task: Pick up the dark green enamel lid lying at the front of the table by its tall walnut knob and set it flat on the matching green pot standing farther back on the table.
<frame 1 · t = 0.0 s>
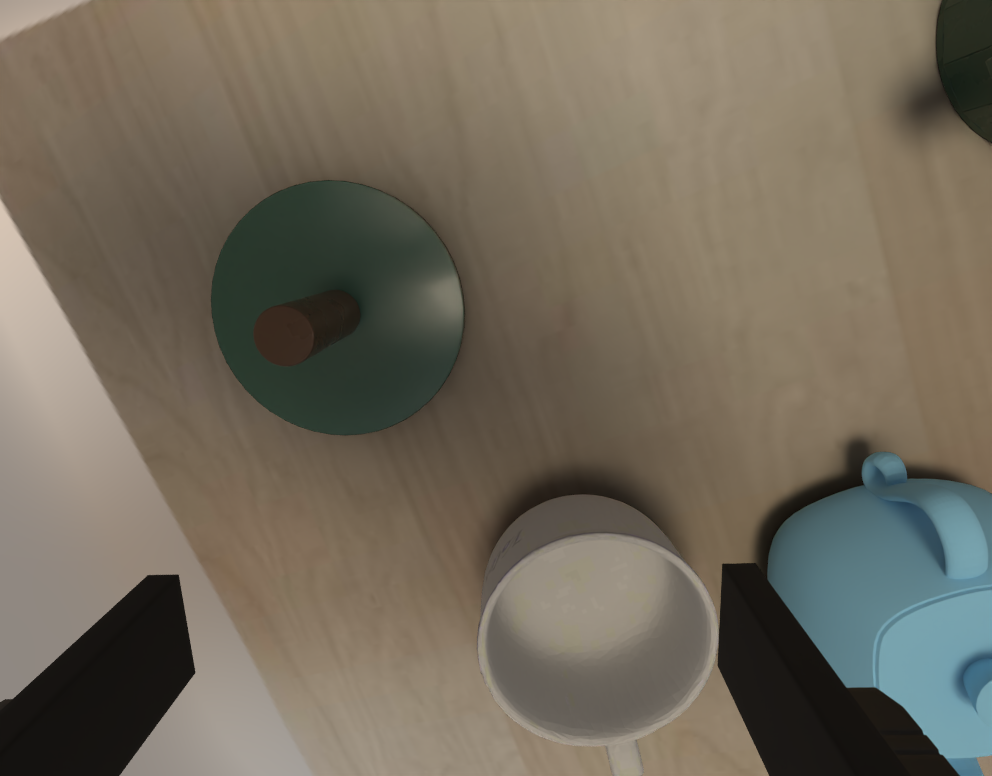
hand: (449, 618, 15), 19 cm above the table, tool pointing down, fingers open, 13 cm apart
pot lid: (340, 312, 32), point 1 cm above the table
teapot: (868, 583, 36), on the table
teacup: (581, 583, 36), on the table
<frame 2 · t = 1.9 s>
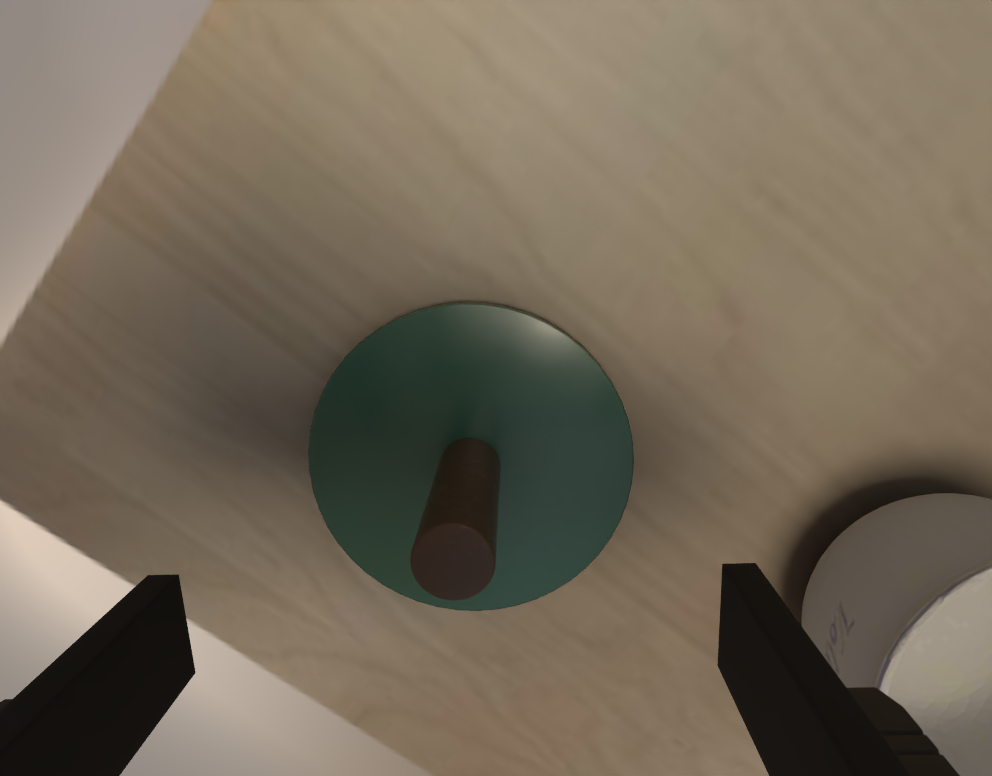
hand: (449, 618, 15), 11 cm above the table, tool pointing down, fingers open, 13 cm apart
pot lid: (471, 461, 25), point 1 cm above the table
teacup: (915, 604, 27), on the table
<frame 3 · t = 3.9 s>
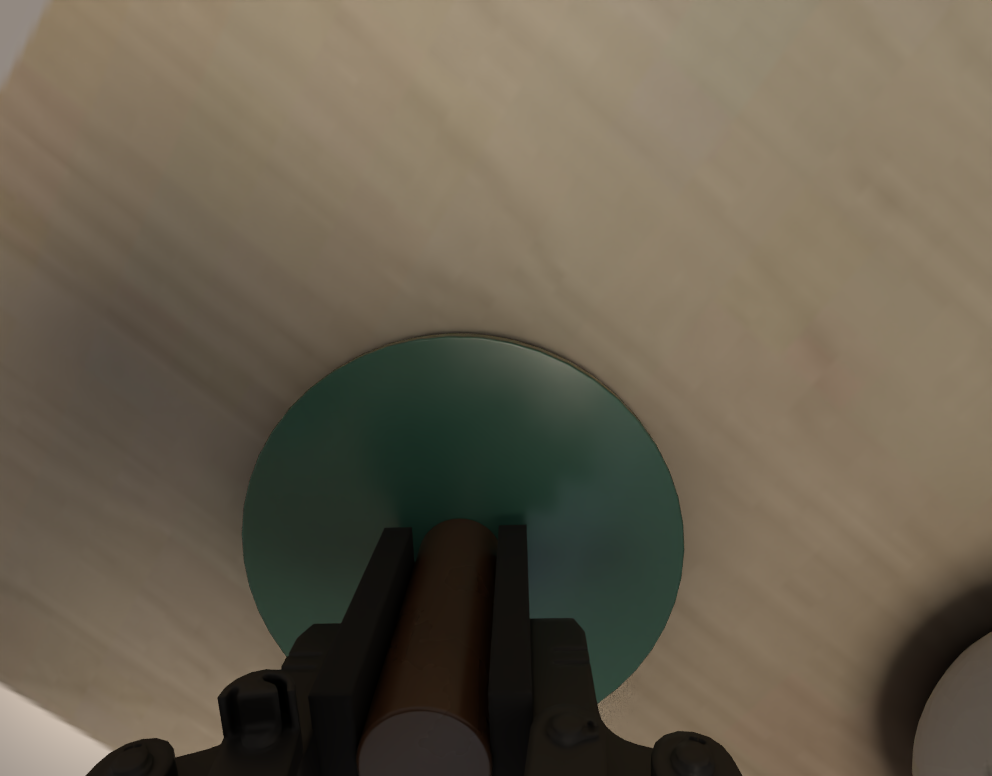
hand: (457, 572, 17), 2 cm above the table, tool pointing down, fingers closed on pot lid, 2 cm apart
pot lid: (462, 546, 19), point 1 cm above the table, touching gripper
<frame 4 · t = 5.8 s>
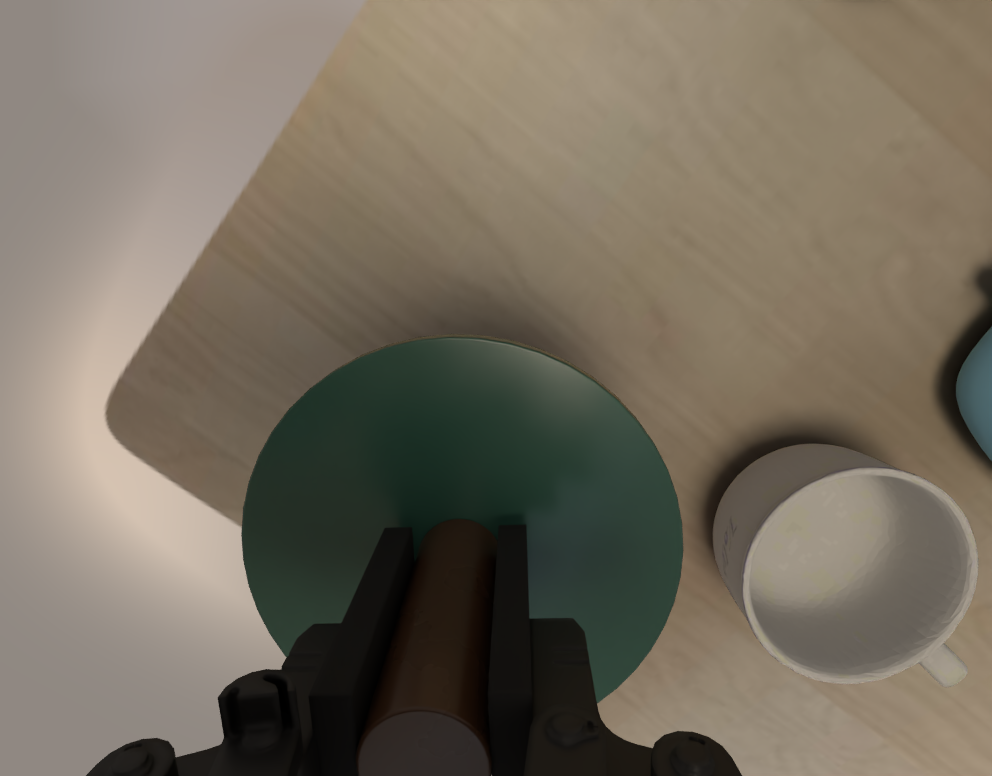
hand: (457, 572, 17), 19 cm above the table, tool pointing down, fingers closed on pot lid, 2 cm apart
pot lid: (461, 546, 19), point 17 cm above the table, touching gripper
teacup: (803, 530, 37), on the table
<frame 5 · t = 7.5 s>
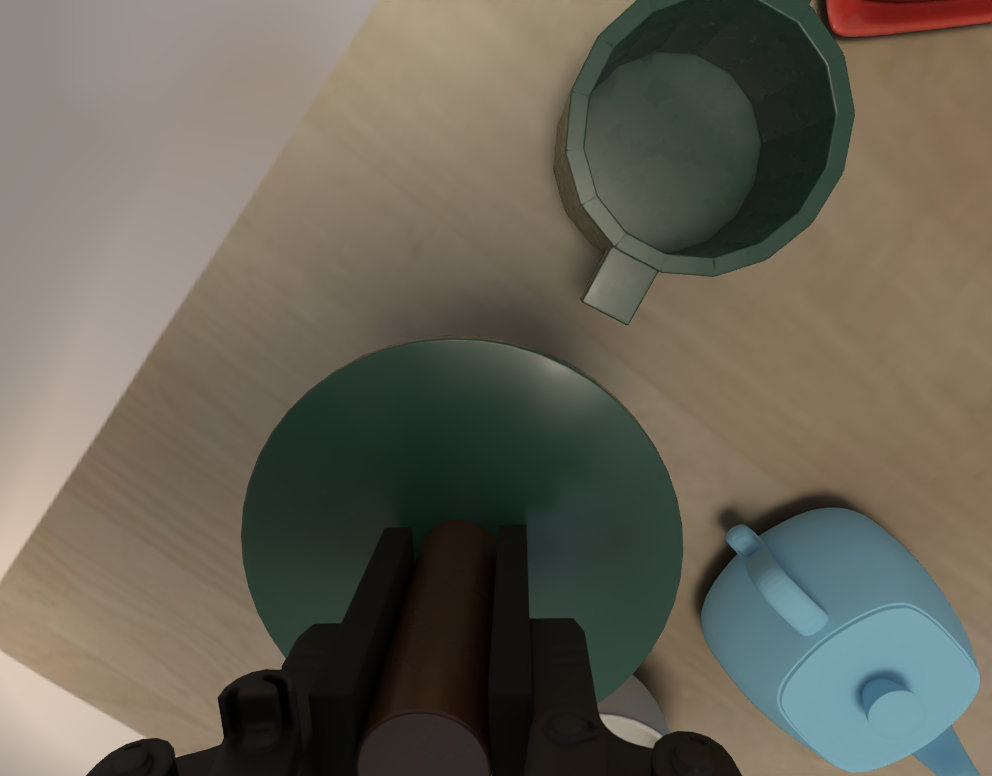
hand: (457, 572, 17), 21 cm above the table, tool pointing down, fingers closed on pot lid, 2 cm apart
pot lid: (461, 547, 19), point 19 cm above the table, touching gripper
teapot: (809, 602, 40), on the table
teacup: (592, 716, 43), on the table
pot: (661, 157, 34), on the table
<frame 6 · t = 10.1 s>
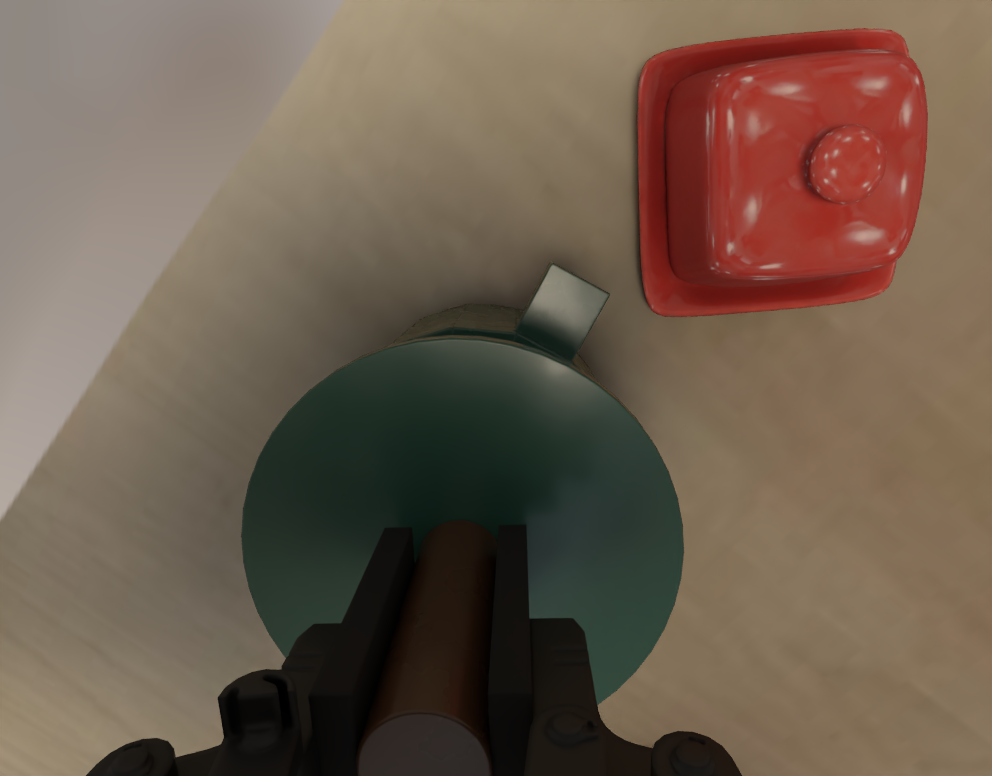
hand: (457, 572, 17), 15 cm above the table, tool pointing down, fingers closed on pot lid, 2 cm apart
butter dish: (758, 183, 29), on the table
pot lid: (462, 547, 19), point 13 cm above the table, touching gripper
pot: (482, 419, 32), on the table
when the fingers open (10 cm above the table, at t = 11.5 s): pot lid stays where it is, resting on pot.
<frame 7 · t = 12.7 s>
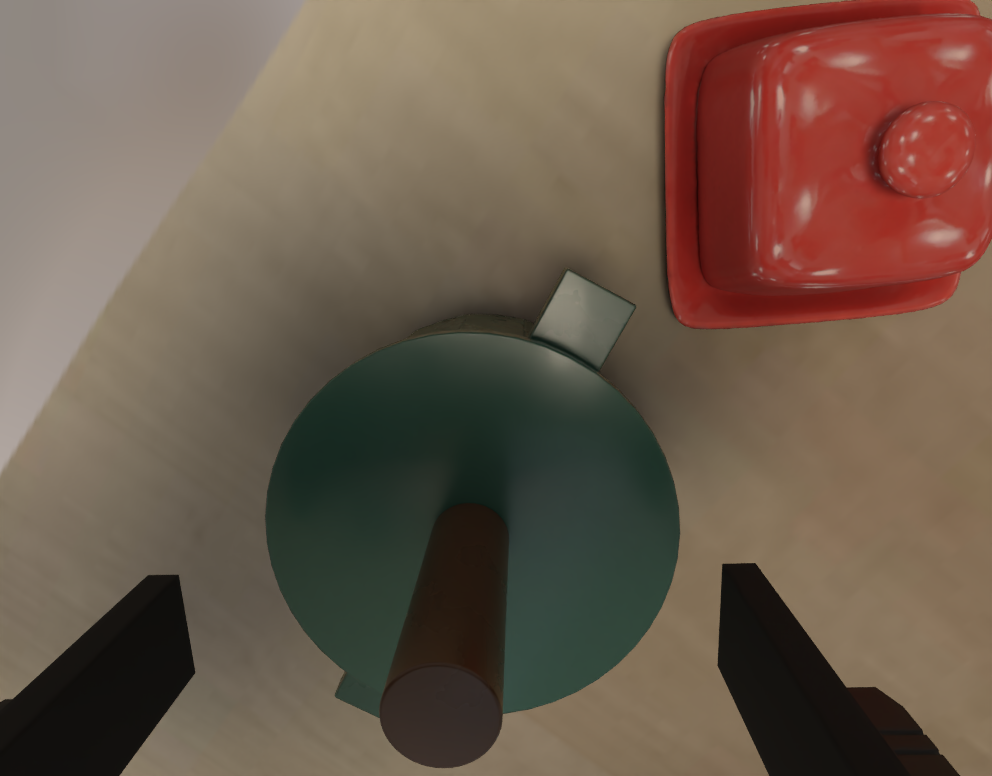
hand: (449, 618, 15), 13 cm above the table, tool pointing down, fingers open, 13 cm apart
butter dish: (801, 175, 25), on the table
pot lid: (471, 529, 20), point 8 cm above the table, touching pot
pot: (485, 443, 28), on the table
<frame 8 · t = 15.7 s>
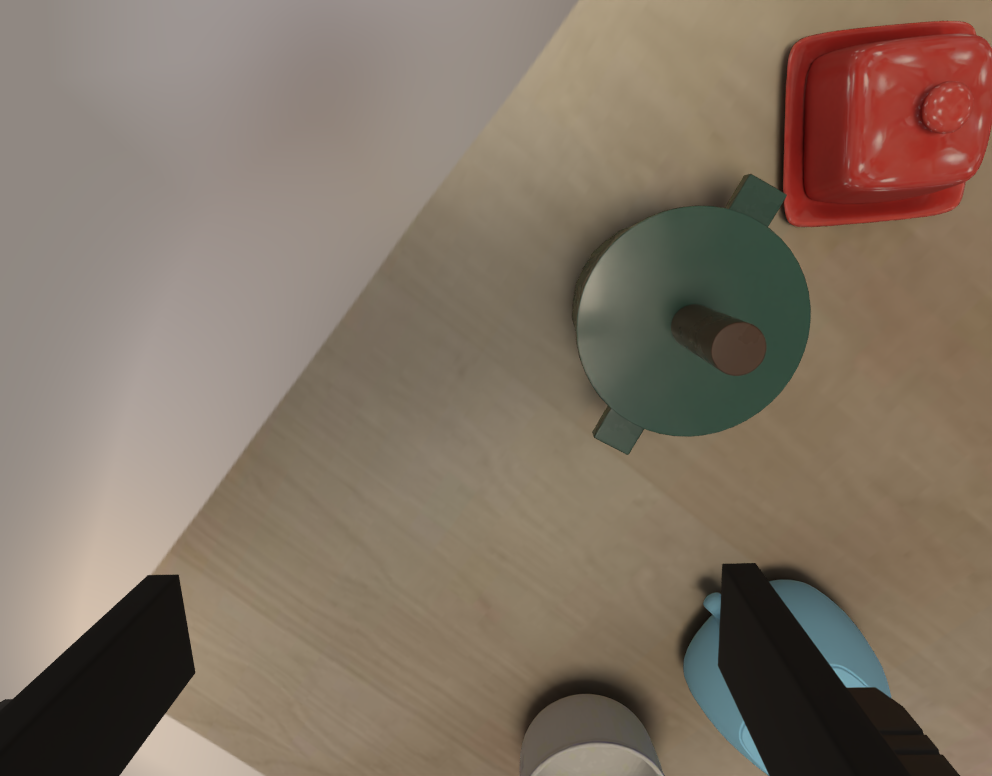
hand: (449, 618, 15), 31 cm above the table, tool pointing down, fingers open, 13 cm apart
butter dish: (865, 131, 41), on the table
pot lid: (689, 324, 36), point 8 cm above the table, touching pot
teapot: (772, 651, 50), on the table
teacup: (594, 740, 52), on the table
pot: (656, 307, 44), on the table
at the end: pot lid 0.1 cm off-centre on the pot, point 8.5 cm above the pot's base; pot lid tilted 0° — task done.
